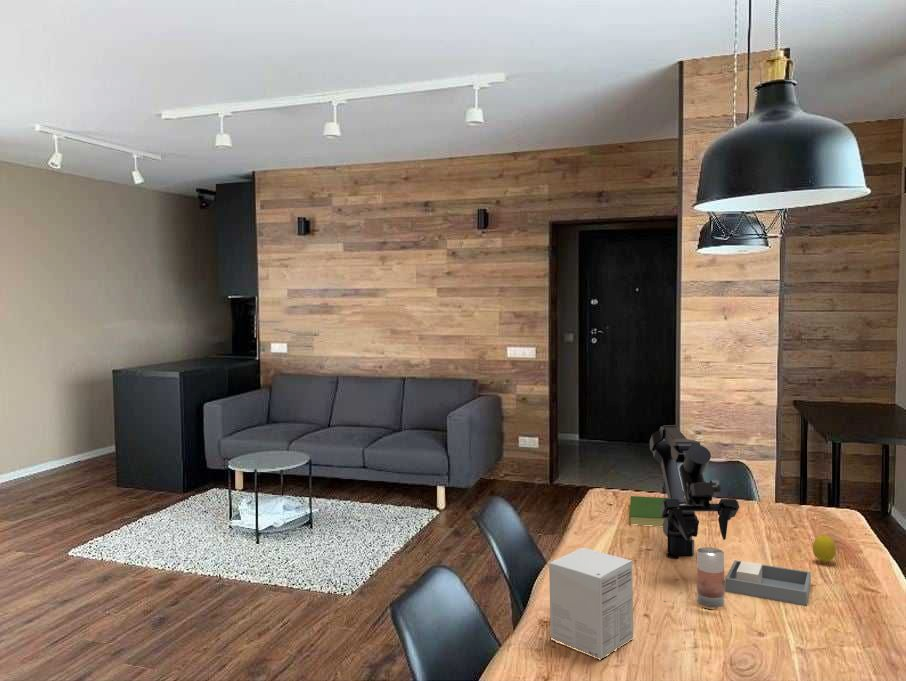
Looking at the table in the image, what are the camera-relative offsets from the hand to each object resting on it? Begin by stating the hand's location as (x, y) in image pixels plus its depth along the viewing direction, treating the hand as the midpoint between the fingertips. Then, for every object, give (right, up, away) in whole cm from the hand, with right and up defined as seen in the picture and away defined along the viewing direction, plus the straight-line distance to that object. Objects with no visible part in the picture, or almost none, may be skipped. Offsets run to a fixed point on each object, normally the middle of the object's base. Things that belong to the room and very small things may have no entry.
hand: (705, 539), depth 174 cm
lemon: (+39, -12, +17) cm, 44 cm away
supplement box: (-33, -15, -23) cm, 43 cm away
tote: (+16, -13, 0) cm, 20 cm away
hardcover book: (+7, -11, +63) cm, 65 cm away
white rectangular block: (+12, -12, +3) cm, 17 cm away
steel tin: (-1, -14, -7) cm, 16 cm away
